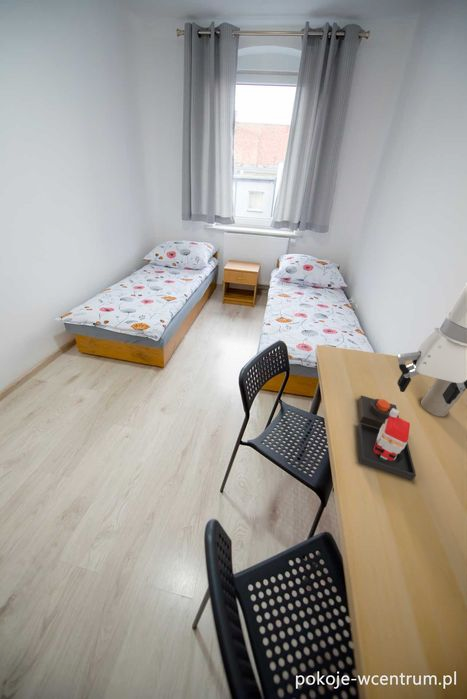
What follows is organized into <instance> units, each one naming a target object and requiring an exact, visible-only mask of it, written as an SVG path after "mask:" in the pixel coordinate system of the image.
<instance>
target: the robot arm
mask: <svg viewBox="0 0 467 699" xmlns="http://www.w3.org/2000/svg"><path fill="white" fill-rule="evenodd" d="M396 357H397V364H398V367H399V370H400V372H401V374H400V376H399V378H398V380H397V382H396V384H397V386H398V389H399V392H401V393H404V392H405V391H406V390H407V388H408V386H409V384H410V382H411V381H412V377H414V376H417V375H422V376H425V377H430V378H433V379H441V380H445V381H450V382H452V383H450V385H449V386H448V387H447V389H446V390H445V392H444V393H443V397H444V400H445V402H446V403H447V404H451V402H452V401H453V400H455V398H456V397H457V396H458V394H459V393H460V392H466V390H467V282H466V283H465V284H464V287H463V288H462V289H461V291H460V293H459V295H458V297H457V298H456V300H455V301H454V303H453V305H452V307H451V308H450V310H449V311H448V313H447V315H446V317H445V318H444V320H443V322H442V324H441V325H440V327H434V329H432V330H431V331H430V333H429V334H428V335H427V336H426V337H425V338H424V339H423V340H422V342H421V343H420V345H419V346H418V348H417V349H416V350H415V351H414V352H406V353H399V354H397V356H396ZM409 361H410V362H411V364H408V365H406V362H409ZM453 382H454V383H453Z"/></svg>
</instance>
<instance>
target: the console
mask: <svg viewBox="0 0 467 699" xmlns="http://www.w3.org/2000/svg"><path fill="white" fill-rule="evenodd" d="M378 400H380V399H379V398H372V397H368V396H365V395H360V396H359V399H358V400H357V403H358V417H359V423H364V424H367V425H370V426H374V427H377V428H381V426H382V425H383V424H385V421H386V419H388V418H389V416H390V411H391V410H392V408H394V409H396V410H398V408H397V404H394V403H390V402H388V403H389V404H390V408H389V410H388V411H387V412H384V411H381V410H379V409H378V408H377V407H376V404H377V402H378ZM397 417H398V418H400V416H399V415H398V416H397Z"/></svg>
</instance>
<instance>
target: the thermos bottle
mask: <svg viewBox="0 0 467 699" xmlns="http://www.w3.org/2000/svg"><path fill="white" fill-rule="evenodd" d="M434 380H435V381H434V382H433V383H432V385H431V386H430V387H429V389H428V391H426V393H425V395H424V396H423V397H422V399H421V402H420V404H421V406H422V408H423V409H424V411H425V410H426V411H427V412H428V413H430V414H432V415H434V416H436V417H445V416H447V415H448V413H449V412H450V411H451V409H453V407H454V406H455V404H457V402H458V401H459V400H460V398H461V397H462V396H463V395H464V392H465V391H464V392H460V393H459V394H458V396H457V397H456V398H455V400H453V401H452V402H451V404H447V403H446V402H445V400H444V397H443V393H444V392H445V390H446V389H447V387H448V386H449V385H450V383H452V382H450V381H445V380H441V379H437V378H435V379H434ZM453 383H454V382H453Z"/></svg>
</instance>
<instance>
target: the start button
mask: <svg viewBox="0 0 467 699" xmlns="http://www.w3.org/2000/svg"><path fill="white" fill-rule="evenodd" d="M389 403H390V402H389V401H387V400H386V399H380V400H378V402H377V404H376V407H377V408H378V409H379V410H381V411H384V412H387V411H388V410H389V408H390V404H391V403H390V404H389Z"/></svg>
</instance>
